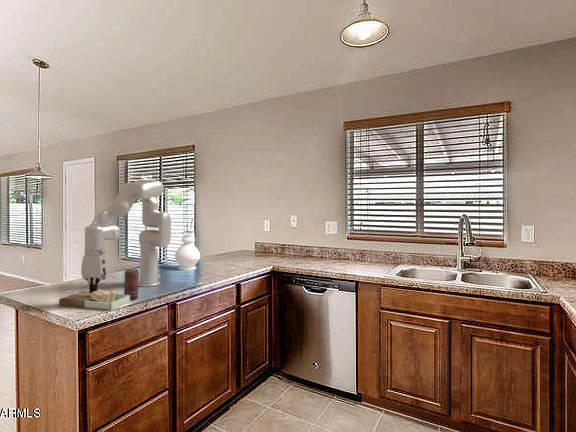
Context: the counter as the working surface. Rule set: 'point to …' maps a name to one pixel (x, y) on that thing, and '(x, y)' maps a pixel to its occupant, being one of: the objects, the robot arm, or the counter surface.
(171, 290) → the counter surface
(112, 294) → the tile
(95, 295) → the tile
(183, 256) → the decorative vase
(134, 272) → the can
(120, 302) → the tray
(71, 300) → the board
